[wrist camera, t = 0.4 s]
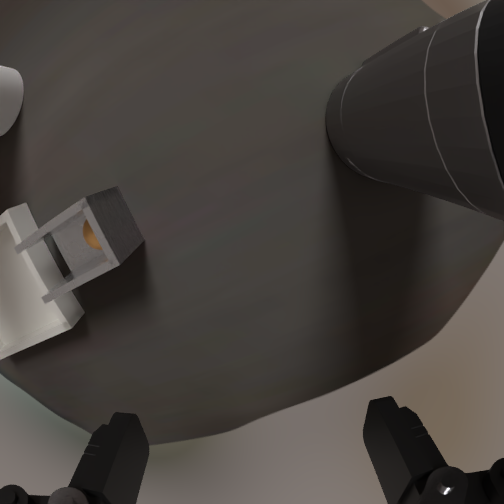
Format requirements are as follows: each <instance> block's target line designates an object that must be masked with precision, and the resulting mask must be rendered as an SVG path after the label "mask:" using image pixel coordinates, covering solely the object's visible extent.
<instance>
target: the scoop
mask: <svg viewBox="0 0 504 504" xmlns="http://www.w3.org/2000/svg"><path fill="white" fill-rule="evenodd" d="M86 219H87V220H88V222H89V224H90V226H91V228H92V230H93V232H94V234H95V236H96V238H97V240H98V242H99V244H100V246H101V247H102V249H103V250H98V249H94V248H92V247H90V246H89V245H88V244H87V243H86V241H85V239H84V236H83V225H84V222H85V220H86ZM51 235H52V237H53V239H54V241H55V243H56V244H57V246H58V248H59V250H60V252H61V254H62V256H63V258H64V260H65V261H66V263H67V265H68V267H69V269H70V270H71V273H69V274H68V275H67V276H66V277H65V278H63V279H62V280H61V281H60V282H59V283H58V284H56V285H55V286H54V287H53V288H52V289H50V290H49V291H48V292H47V293H46V294H45V295H44V296H42V297H41V298H42V300H43V301H44V303H45V304H46V303H48V302H50V301H52V300H54V299H56V298H57V297H59V296H61V295H63V294H65V293H67V292H69V291H71V290H73V289H74V288H76V287H78V286H80V285H82V284H84V283H86V282H88V281H90V280H92V279H94V278H96V277H97V276H99V275H101V274H103V273H105V272H107V271H109V270H111V269H113V268H115V267H117V266H119V265H121V264H122V262H123V261H124V260H125V259H126V258H127V257H128V256H129V255H130V254H131V253H132V252H133V251H134V250H135V249H136V248H137V247H138V246H139V245H140V244H141V243H142V242H143V241H144V240H145V239H144V237H143V235H142V234H141V232H140V230H139V228H138V226H137V224H136V222H135V220H134V218H133V216H132V214H131V212H130V210H129V208H128V206H127V204H126V202H125V200H124V198H123V196H122V194H121V192H120V190H119V188H118V186H116V187H113V188H110V189H107V190H104V191H101V192H98V193H95V194H92V195H90V196H87V197H84V198H83V199H81V200H80V201H78V202H77V203H75V204H74V205H72V206H71V207H69V208H68V209H66V210H65V211H63V212H62V213H61V214H59V215H58V216H56V217H55V218H53V219H52V220H51V221H49V222H48V223H46V224H45V225H44V226H42V227H41V228H39V229H38V230H37V231H35V232H34V233H33V234H31V235H30V236H29V237H27V238H26V239H25V240H23V241H22V242H21V243H20V244H18V245H17V246H16V247H14V249H15V251H16V253H17V255H18V254H20V253H21V252H23V251H25V250H26V249H28V248H30V247H32V246H33V245H35V244H37V243H39V242H41V241H42V240H44V239H46V238H48V237H50V236H51Z"/></svg>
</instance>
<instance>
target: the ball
mask: <svg viewBox="0 0 504 504" xmlns="http://www.w3.org/2000/svg"><path fill="white" fill-rule="evenodd" d="M83 236H84V239H85V241H86V243H87V244H88V245H89V246H90V247H92V248H94V249H98V250H103V249H102V247H101V246H100V244H99V242H98V240H97V238H96V236H95V234H94V232H93V230H92V228H91V226H90V224H89V222H88V220H87V219H86V220H85V222H84V225H83Z"/></svg>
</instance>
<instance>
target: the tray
mask: <svg viewBox="0 0 504 504" xmlns="http://www.w3.org/2000/svg"><path fill="white" fill-rule="evenodd" d="M37 230H38V227H37V225H36V223H35V221H34V219H33V217H32V214H31V212H30V210H29V208H28V205H27V203H23V204H21V205H18V206H15V207H12V208H9V209H7V210H6V211H5V212H4V213H2V214H1V215H0V359H3V358H5V357H7V356H10V355H12V354H14V353H17V352H19V351H21V350H23V349H26V348H28V347H30V346H33V345H35V344H37V343H39V342H42V341H44V340H46V339H49V338H51V337H53V336H55V335H58V334H60V333H62V332H65V331H67V330H69V329H72V328H73V326H74V325H75V324H76V323H77V322H78V320H79V319H80V318H81V317H82V316H83V314H84V313H85V312H84V310H83V308H82V307H81V305H80V304H79V302H78V300H77V299H76V297H75V296H74V294H73V292H72V291H69V292H67V293H65V294H63V295H61V296H59V297H57V298H56V299H54V300H52V301H50V302H48V303H46V304H45V303H44V301H43V300H42V298H41V297H42V296H44V295H45V294H46V293H47V292H48V291H49V290H50V289H52V288H53V287H54V286H55V285H56V284H58V283H59V282H60V281H61V280H62V279H63V278H64V277H63V275H62V273H61V272H60V270H59V268H58V266H57V264H56V263H55V261H54V259H53V257H52V255H51V253H50V251H49V249H48V247H47V245H46V244H45V242H44V240H42V241H41V242H39V243H37V244H35V245H33V246H32V247H30V248H28V249H26V250H25V251H23V252H21V253H20V254H18V255H17V253H16V251H15V249H14V247H16V246H17V245H18V244H20V243H21V242H22V241H23V240H25V239H26V238H27V237H29V236H30V235H31V234H33V233H34V232H35V231H37Z"/></svg>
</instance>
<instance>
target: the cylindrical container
mask: <svg viewBox="0 0 504 504" xmlns="http://www.w3.org/2000/svg"><path fill="white" fill-rule="evenodd" d="M23 94H24V85H23V80H22V78H21V75H20V74H19V72H18V71H16V70H15V69H12V68H8V67H4V66H0V136H2V135H4V134H5V133H6V132H7V131H8V130H9V129H10V128H11V127H12V125H13V124H14V122H15V121H16V119H17V117H18V115H19V112H20V109H21V106H22V101H23Z"/></svg>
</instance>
